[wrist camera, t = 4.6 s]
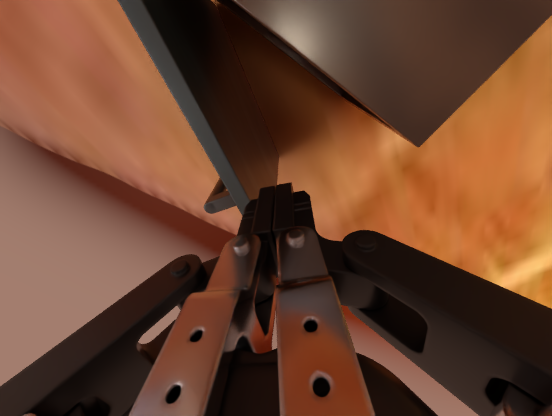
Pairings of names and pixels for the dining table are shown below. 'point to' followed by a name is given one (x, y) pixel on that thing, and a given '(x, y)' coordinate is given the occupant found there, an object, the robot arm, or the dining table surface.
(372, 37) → the cupboard
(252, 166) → the door
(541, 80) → the dining table surface
